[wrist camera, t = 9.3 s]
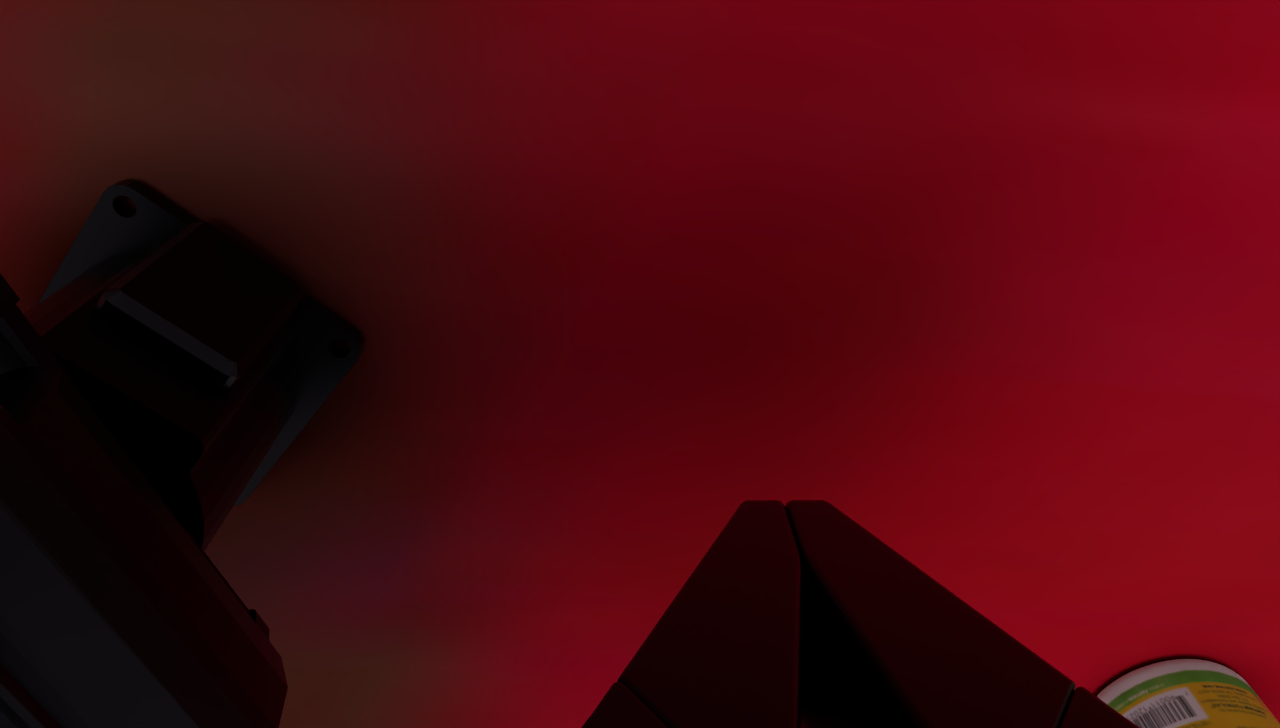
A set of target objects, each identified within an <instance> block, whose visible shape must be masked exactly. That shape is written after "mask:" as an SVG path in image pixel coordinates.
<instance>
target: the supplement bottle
mask: <svg viewBox="0 0 1280 728" xmlns="http://www.w3.org/2000/svg"><path fill="white" fill-rule="evenodd" d="M1096 697H1098V698H1099V699H1101V700H1102V701H1103V702H1105V703H1106V704H1107V705H1109V706H1110V707H1111V708H1113V709H1114V710H1116V711H1117V712H1118V713H1120V714H1121V715H1123V716H1124V717H1125V718H1127V719H1128V720H1130V721H1131V722H1133V723H1134V724H1135V725H1137V726H1138V727H1140V728H1280V723H1279V722H1278V721H1277V719H1276V718H1275V717H1274V715H1273V714H1272V713H1271V712H1270V710H1269V709H1268V708H1267V706H1266V705H1265V704H1264V703H1263V701H1262V700H1261V699H1260V698H1259V696H1258V695H1257V694H1256V693H1255V692H1254V690H1253V689H1252V688H1251V687H1250V686H1249V684H1248V683H1247V682H1246V681H1245V680H1244V679H1243V678H1242V677H1241V676H1240V675H1238V674H1237V673H1236V672H1234V671H1233V670H1231V669H1229V668H1227V667H1225V666H1223V665H1220V664H1217V663H1214V662H1210V661H1205V660H1198V659H1176V660H1168V661H1163V662H1158V663H1154V664H1151V665H1147V666H1144V667H1141V668H1139V669H1136V670H1134V671H1131V672H1129V673H1127V674H1125V675H1124V676H1122V677H1120V678H1118V679H1117V680H1115V681H1114V682H1112V683H1111V684H1109V685H1108V686H1107V687H1106V688H1104V689H1103V690H1102V691H1101V692H1100V693H1099V694H1098V695H1097V696H1096Z"/></svg>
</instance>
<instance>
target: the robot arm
mask: <svg viewBox="0 0 1280 728" xmlns="http://www.w3.org/2000/svg"><path fill="white" fill-rule="evenodd" d="M122 196H126V197H128V198H130V199H131V200H132V201H133V202H134V203H135V205H136V208H137V210H136V212H133V211H131V210H128V209H127V208H126V207H125V206H124V205H123V202H122ZM18 301H19V297H18V296H17V295H16V293H15V292H14V291H13V290H12V288H11V287H10V286H9V284H8V283H7V282H6V280H5V279H4V278H3V276H2V275H1V274H0V728H279V723H280V719H281V715H282V710H283V706H284V702H285V697H286V693H287V689H288V686H287V681H286V677H285V672H284V668H283V663H282V658H281V656H280V655H279V653H278V652H277V651H276V649H275V648H274V647H273V646H272V644H271V643H270V642H269V628H268V626H267V625H266V624H265V622H264V621H263V620H262V618H261V617H260V616H259V614H258V613H257V612H256V610H253V609H251V610H248V609H247V607H246V606H245V605H244V603H243V602H242V601H241V599H240V598H239V597H238V595H237V594H236V593H235V592H234V590H233V589H232V588H231V586H230V585H229V584H228V582H227V581H226V580H225V578H224V577H223V576H222V574H221V573H220V572H219V571H218V569H217V568H216V567H215V565H214V564H213V563H212V561H211V560H210V559H209V557H208V556H207V555H206V553H205V552H204V551H205V549H206V548H207V546H208V545H209V543H210V541H211V540H212V538H213V537H214V535H215V534H216V532H217V531H218V529H219V527H220V526H221V524H222V523H223V521H224V520H225V518H226V516H227V515H228V513H229V512H230V510H231V509H232V507H233V506H235V505H239V504H242V503H243V502H244V501H246V499H247V498H248V497H249V496H250V494H251V493H252V492H253V491H254V489H255V488H256V487H257V486H258V484H259V483H260V482H261V481H262V479H263V478H264V477H265V476H266V474H267V473H268V472H269V471H270V469H271V468H272V467H273V466H274V464H275V463H276V462H277V461H278V459H279V458H280V457H281V455H282V454H283V453H284V452H285V450H286V449H287V448H288V447H289V445H290V444H291V443H292V442H293V440H294V439H295V438H296V437H297V435H298V434H299V433H300V432H301V430H302V429H303V428H304V427H305V425H306V424H307V423H308V422H309V420H310V419H311V418H312V417H313V415H314V414H315V413H316V412H317V410H318V409H319V408H320V406H321V405H322V404H323V403H324V401H325V400H326V399H327V398H328V396H329V395H330V394H331V393H332V391H333V390H334V389H335V388H336V386H337V385H338V384H339V383H340V381H341V380H342V379H343V378H344V376H345V375H346V374H347V373H348V371H349V370H350V369H351V368H352V366H353V365H354V364H355V363H356V361H357V360H358V358H359V356H360V355H361V353H362V351H363V348H364V339H363V337H362V335H361V333H360V332H359V331H358V330H357V329H356V328H355V327H354V326H352V325H351V324H349V323H348V322H346V321H345V320H343V319H342V318H340V317H339V316H337V315H336V314H334V313H333V312H331V311H330V310H328V309H327V308H325V307H324V306H322V305H321V304H319V303H318V302H317V301H315V300H314V299H312V298H311V297H309V296H308V295H306V294H305V293H303V292H302V291H301V289H300V286H299V284H298V283H296V282H295V281H293V280H292V279H290V278H289V277H287V276H286V275H284V274H283V273H281V272H280V271H279V270H277V269H276V268H274V267H273V266H271V265H270V264H268V263H267V262H265V261H264V260H262V259H261V258H259V257H258V256H256V255H255V254H253V253H252V252H250V251H249V250H247V249H246V248H245V247H243V246H242V245H240V244H239V243H237V242H236V241H234V240H233V239H231V238H230V237H228V236H227V235H225V234H224V233H222V232H221V231H219V230H218V229H216V228H215V227H214V226H212V225H211V224H209V223H207V222H198V221H197V220H195V219H194V218H192V217H191V216H189V215H188V214H186V213H185V212H183V211H182V210H180V209H179V208H177V207H176V206H174V205H173V204H171V203H170V202H168V201H167V200H165V199H164V198H162V197H161V196H159V195H158V194H157V193H155V192H154V191H152V190H151V189H149V188H148V187H146V186H145V185H143V184H141V183H139V182H137V181H134V180H122V181H119V182H117V183H115V184H113V185H112V186H110V187H108V188H107V189H106V190H105V191H104V192H103V194H102V195H101V197H100V199H99V201H98V202H97V204H96V206H95V207H94V209H93V211H92V213H91V214H90V216H89V218H88V219H87V221H86V223H85V224H84V226H83V228H82V230H81V231H80V233H79V235H78V236H77V238H76V240H75V241H74V243H73V245H72V247H71V248H70V250H69V252H68V253H67V255H66V257H65V258H64V260H63V262H62V264H61V265H60V267H59V269H58V270H57V272H56V274H55V275H54V277H53V279H52V281H51V282H50V284H49V286H48V287H47V289H46V291H45V293H44V294H43V296H42V298H41V299H40V301H39V303H38V304H37V306H35V307H34V308H33V309H31V310H30V311H28V312H27V313H26V314H24V315H23V313H22V312H21V311H20V309H19V308H18V307H17V305H16V303H17V302H18ZM338 339H340V340H342V341H345V342H346V343H347V344H348V345H349V348H350V350H345V351H343V350H341V349H338V348H337V347H336V346H335V345H334V341H333V340H338ZM582 728H1140V727H1138V726H1137V725H1135V724H1134V723H1133V722H1131V721H1130V720H1128V719H1127V718H1125V717H1124V716H1123V715H1121V714H1120V713H1118V712H1117V711H1116V710H1114V709H1113V708H1111V707H1110V706H1109V705H1107V704H1106V703H1105V702H1103V701H1102V700H1101V699H1099V698H1098V697H1096V696H1095V695H1094V694H1092V693H1091V692H1090V691H1088V690H1087V689H1085V688H1084V687H1078V688H1076V685H1075V683H1074V682H1073V681H1072V680H1070V679H1069V678H1068V677H1066V676H1065V675H1064V674H1062V673H1061V672H1060V671H1058V670H1057V669H1055V668H1054V667H1053V666H1051V665H1050V664H1049V663H1047V662H1046V661H1045V660H1043V659H1042V658H1040V657H1039V656H1038V655H1036V654H1035V653H1034V652H1032V651H1031V650H1030V649H1028V648H1027V647H1025V646H1024V645H1023V644H1021V643H1020V642H1019V641H1017V640H1016V639H1014V638H1013V637H1012V636H1010V635H1009V634H1008V633H1006V632H1005V631H1004V630H1002V629H1001V628H999V627H998V626H997V625H995V624H994V623H993V622H991V621H990V620H989V619H987V618H986V617H984V616H983V615H982V614H980V613H979V612H978V611H976V610H975V609H974V608H972V607H971V606H969V605H968V604H967V603H965V602H964V601H963V600H961V599H960V598H958V597H957V596H956V595H954V594H953V593H952V592H950V591H949V590H948V589H946V588H945V587H943V586H942V585H941V584H939V583H938V582H937V581H935V580H934V579H933V578H931V577H930V576H928V575H927V574H926V573H924V572H923V571H922V570H920V569H919V568H917V567H916V566H915V565H913V564H912V563H911V562H909V561H908V560H907V559H905V558H904V557H902V556H901V555H900V554H898V553H897V552H896V551H894V550H893V549H892V548H890V547H889V546H887V545H886V544H885V543H883V542H882V541H881V540H879V539H878V538H877V537H875V536H874V535H872V534H871V533H870V532H868V531H867V530H866V529H864V528H863V527H861V526H860V525H859V524H857V523H856V522H855V521H853V520H852V519H851V518H849V517H848V516H846V515H845V514H844V513H842V512H841V511H840V510H838V509H837V508H836V507H834V506H833V505H831V504H830V503H828V502H826V501H823V500H793V501H789V502H788V503H787V504H786V505H785V506H784V504H783V503H782V502H780V501H776V500H768V501H756V500H748V501H744V502H743V503H742V504H741V505H740V506H739V508H738V509H737V510H736V512H735V513H734V515H733V516H732V517H731V519H730V520H729V522H728V523H727V525H726V526H725V527H724V529H723V530H722V532H721V533H720V535H719V536H718V537H717V539H716V540H715V542H714V543H713V545H712V546H711V547H710V549H709V550H708V552H707V553H706V555H705V556H704V557H703V559H702V560H701V562H700V563H699V564H698V566H697V567H696V569H695V570H694V572H693V573H692V574H691V576H690V577H689V579H688V580H687V582H686V583H685V584H684V586H683V587H682V589H681V590H680V592H679V593H678V594H677V596H676V597H675V599H674V600H673V602H672V603H671V604H670V606H669V607H668V609H667V610H666V611H665V613H664V614H663V616H662V617H661V619H660V620H659V621H658V623H657V624H656V626H655V627H654V629H653V630H652V631H651V633H650V634H649V636H648V637H647V639H646V640H645V641H644V643H643V644H642V646H641V647H640V649H639V650H638V651H637V653H636V654H635V656H634V657H633V658H632V660H631V661H630V663H629V664H628V666H627V667H626V668H625V670H624V671H623V673H622V674H621V676H620V677H619V678H618V681H617V682H616V683H614V684H613V685H612V686H611V688H610V689H609V691H608V692H607V693H606V695H605V696H604V698H603V699H602V701H601V702H600V703H599V705H598V706H597V708H596V709H595V711H594V712H593V713H592V715H591V716H590V717H589V719H588V720H587V721H586V722H585V724H584V725H583V726H582Z"/></svg>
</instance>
